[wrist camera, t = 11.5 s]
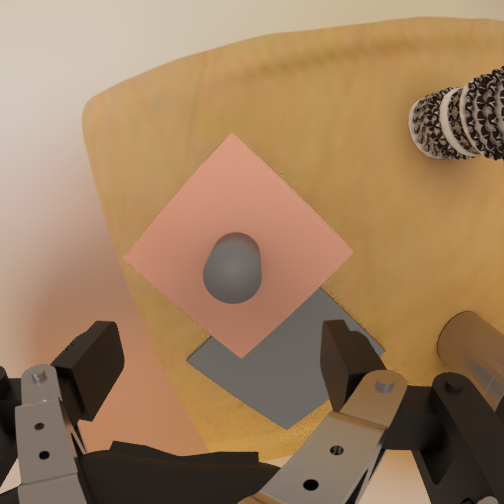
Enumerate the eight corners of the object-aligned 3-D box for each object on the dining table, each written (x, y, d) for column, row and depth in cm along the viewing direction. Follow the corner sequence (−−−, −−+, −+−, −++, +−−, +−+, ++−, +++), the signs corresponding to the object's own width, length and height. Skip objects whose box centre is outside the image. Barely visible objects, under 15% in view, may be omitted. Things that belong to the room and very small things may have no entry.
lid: (350, 249, 25) (376, 271, 19) (241, 352, 28) (239, 394, 22) (232, 134, 23) (226, 122, 17) (127, 255, 25) (96, 278, 20)
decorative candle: (423, 172, 36) (579, 191, 12) (393, 107, 34) (539, 56, 10) (468, 147, 35) (613, 151, 11) (441, 86, 33) (580, 44, 9)
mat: (384, 349, 42) (385, 351, 42) (286, 427, 46) (286, 429, 45) (290, 258, 39) (290, 259, 38) (186, 358, 43) (186, 361, 42)
